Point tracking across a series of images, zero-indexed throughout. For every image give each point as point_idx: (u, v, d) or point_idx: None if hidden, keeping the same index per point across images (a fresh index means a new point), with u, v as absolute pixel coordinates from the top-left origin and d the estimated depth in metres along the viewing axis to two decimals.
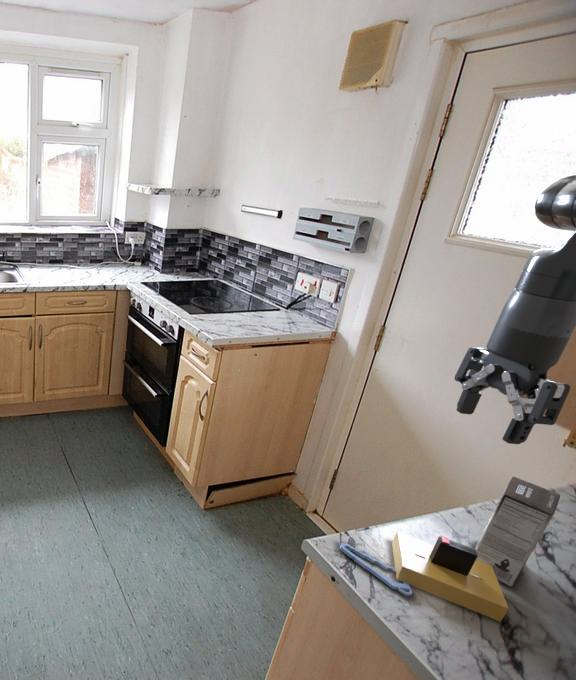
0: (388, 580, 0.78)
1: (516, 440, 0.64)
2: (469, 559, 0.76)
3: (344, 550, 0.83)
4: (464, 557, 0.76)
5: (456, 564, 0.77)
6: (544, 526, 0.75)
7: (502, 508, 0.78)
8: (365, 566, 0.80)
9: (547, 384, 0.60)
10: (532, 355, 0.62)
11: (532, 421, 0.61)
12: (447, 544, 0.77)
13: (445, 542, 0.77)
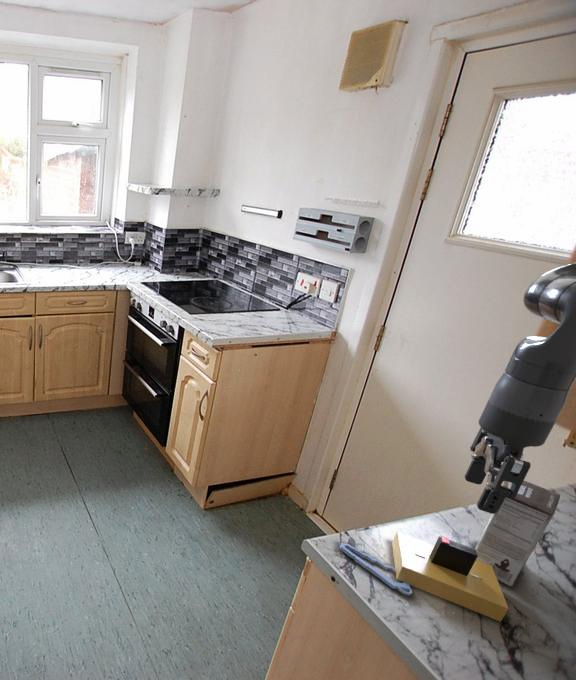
0: (388, 580, 0.78)
1: (485, 508, 0.69)
2: (469, 559, 0.76)
3: (344, 550, 0.83)
4: (464, 557, 0.76)
5: (456, 564, 0.77)
6: (544, 526, 0.75)
7: (502, 508, 0.78)
8: (365, 566, 0.80)
9: (506, 458, 0.65)
10: (504, 431, 0.67)
11: (491, 490, 0.67)
12: (447, 544, 0.77)
13: (445, 542, 0.77)
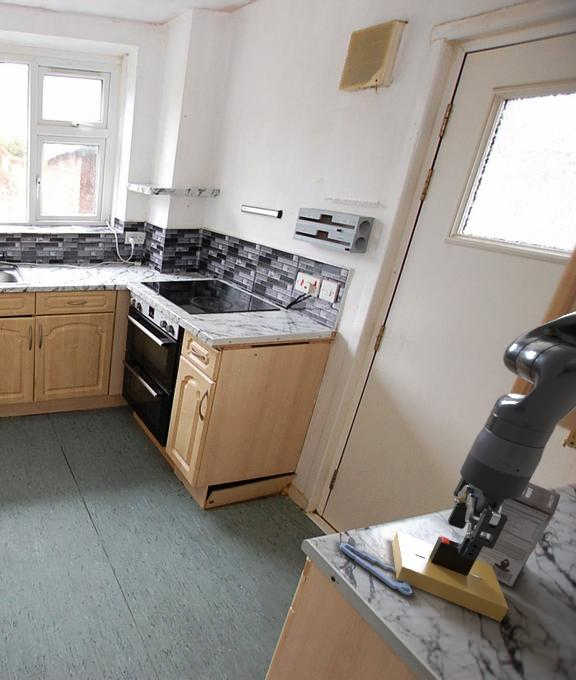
0: (388, 579, 0.78)
1: (465, 555, 0.72)
2: None
3: (344, 550, 0.84)
4: None
5: (456, 564, 0.77)
6: (544, 526, 0.75)
7: (502, 508, 0.78)
8: (365, 566, 0.80)
9: (484, 510, 0.69)
10: (483, 483, 0.70)
11: (471, 540, 0.70)
12: (447, 544, 0.77)
13: (445, 542, 0.77)
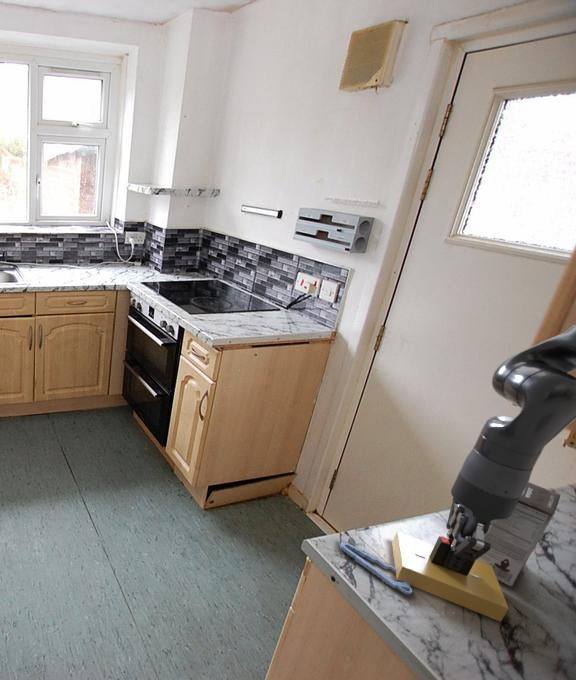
0: (388, 579, 0.78)
1: (450, 566, 0.77)
2: None
3: (344, 549, 0.84)
4: None
5: None
6: (544, 526, 0.75)
7: None
8: (365, 565, 0.80)
9: (469, 539, 0.71)
10: (473, 504, 0.72)
11: (454, 552, 0.74)
12: (447, 544, 0.77)
13: (445, 542, 0.77)
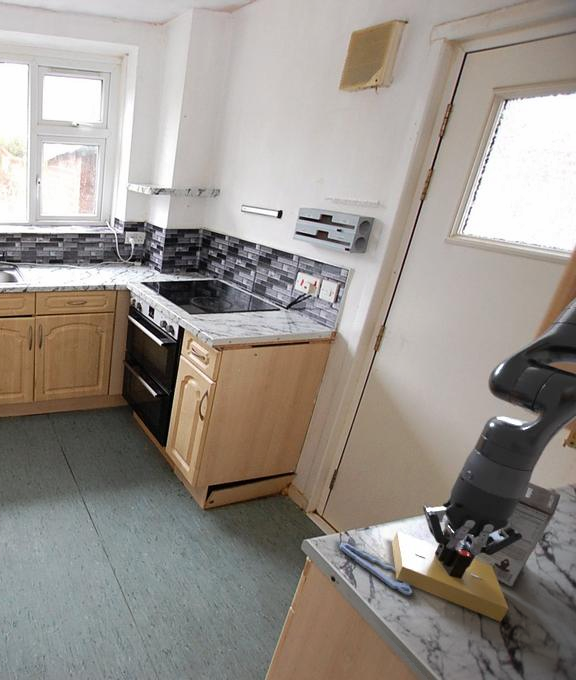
0: (388, 579, 0.78)
1: (468, 565, 0.77)
2: None
3: (344, 549, 0.84)
4: None
5: None
6: (544, 526, 0.75)
7: None
8: (365, 565, 0.80)
9: (519, 535, 0.73)
10: None
11: (489, 554, 0.75)
12: (468, 553, 0.75)
13: (469, 554, 0.75)
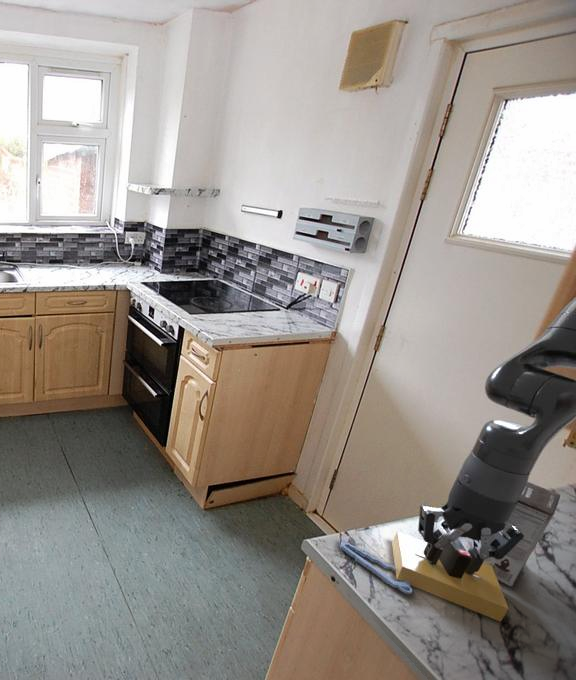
0: (388, 578, 0.78)
1: None
2: None
3: (345, 548, 0.84)
4: None
5: None
6: (544, 526, 0.75)
7: None
8: (365, 564, 0.80)
9: (520, 535, 0.73)
10: (511, 513, 0.71)
11: (499, 558, 0.75)
12: (468, 553, 0.75)
13: (468, 554, 0.75)
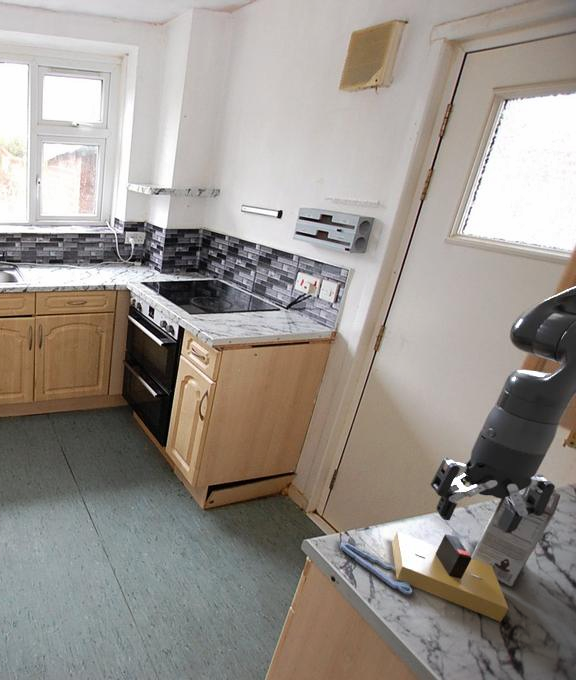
0: (388, 579, 0.78)
1: None
2: None
3: (344, 549, 0.84)
4: None
5: None
6: (544, 526, 0.75)
7: (502, 508, 0.78)
8: (365, 565, 0.80)
9: (550, 485, 0.69)
10: (538, 467, 0.68)
11: (538, 514, 0.71)
12: (468, 553, 0.75)
13: (468, 554, 0.75)
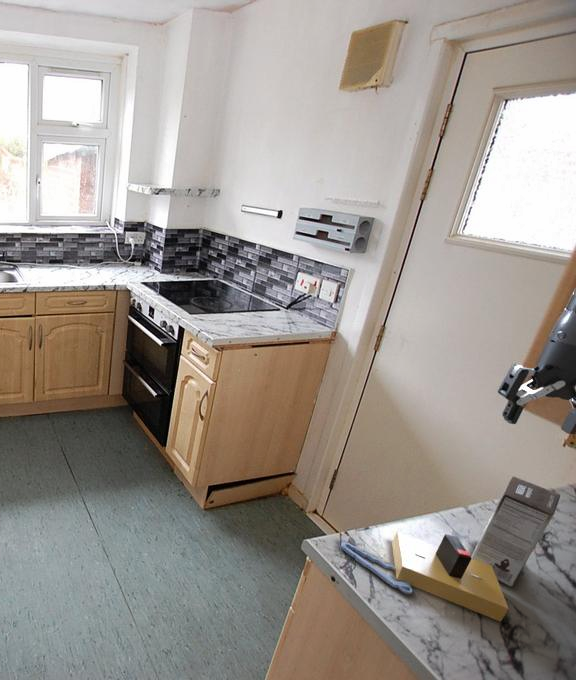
0: (388, 578, 0.78)
1: None
2: None
3: (345, 549, 0.84)
4: None
5: None
6: (544, 526, 0.75)
7: (502, 508, 0.78)
8: (366, 564, 0.81)
9: None
10: None
11: None
12: (468, 553, 0.75)
13: (468, 554, 0.75)
